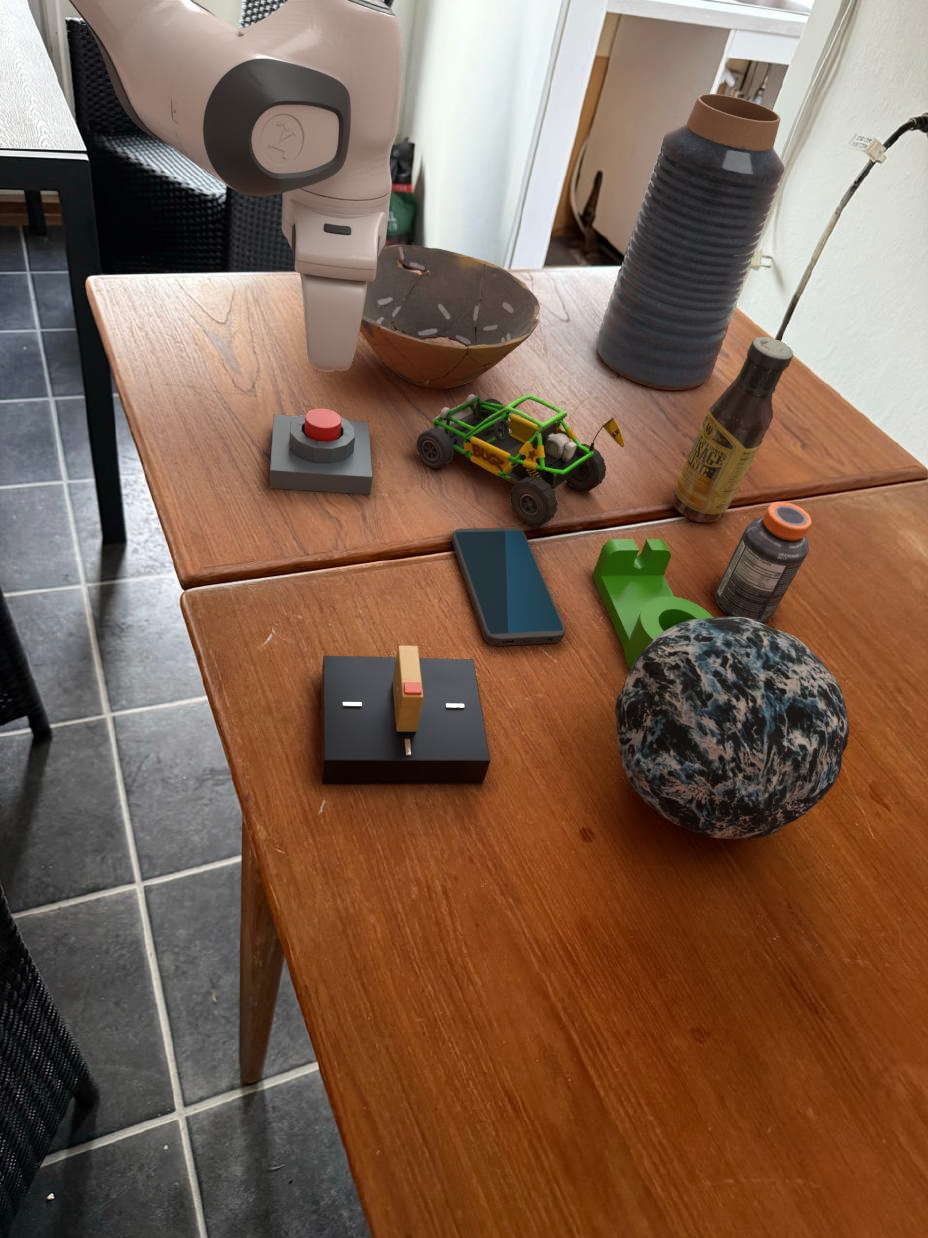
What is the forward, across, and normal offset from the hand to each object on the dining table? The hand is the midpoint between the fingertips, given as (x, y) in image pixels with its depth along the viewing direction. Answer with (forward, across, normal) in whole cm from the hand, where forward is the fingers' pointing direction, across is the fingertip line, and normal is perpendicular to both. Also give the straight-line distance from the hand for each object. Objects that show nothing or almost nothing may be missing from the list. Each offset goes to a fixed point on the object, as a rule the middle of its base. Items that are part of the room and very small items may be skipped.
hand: (325, 364), depth 83 cm
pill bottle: (+11, +19, +41) cm, 47 cm away
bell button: (+8, 0, 0) cm, 8 cm away
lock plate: (+11, +35, +6) cm, 37 cm away
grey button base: (+11, 0, 0) cm, 11 cm away
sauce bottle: (+11, +4, +41) cm, 43 cm away
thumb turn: (+8, +35, +6) cm, 36 cm away
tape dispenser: (+11, +23, +30) cm, 40 cm away
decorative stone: (+12, +40, +29) cm, 51 cm away
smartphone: (+11, +18, +17) cm, 27 cm away
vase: (+11, -29, +45) cm, 55 cm away
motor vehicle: (+11, 0, +20) cm, 23 cm away
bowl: (+11, -22, +13) cm, 28 cm away
